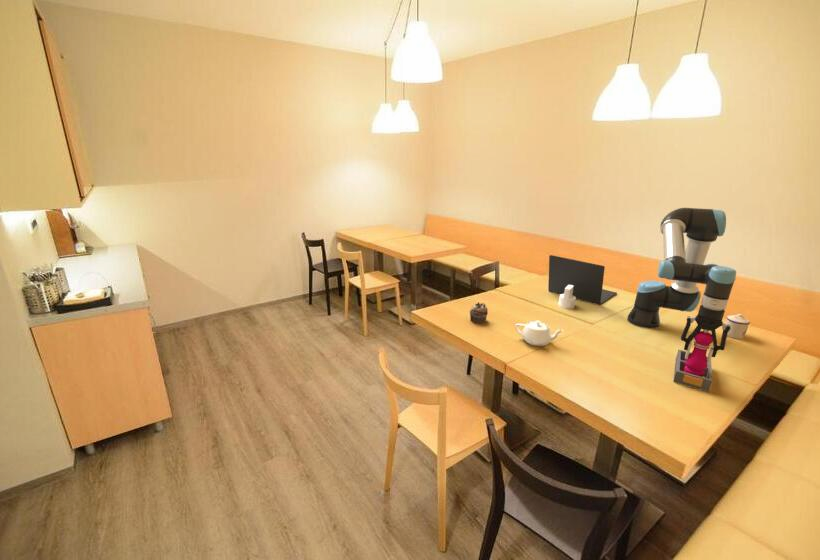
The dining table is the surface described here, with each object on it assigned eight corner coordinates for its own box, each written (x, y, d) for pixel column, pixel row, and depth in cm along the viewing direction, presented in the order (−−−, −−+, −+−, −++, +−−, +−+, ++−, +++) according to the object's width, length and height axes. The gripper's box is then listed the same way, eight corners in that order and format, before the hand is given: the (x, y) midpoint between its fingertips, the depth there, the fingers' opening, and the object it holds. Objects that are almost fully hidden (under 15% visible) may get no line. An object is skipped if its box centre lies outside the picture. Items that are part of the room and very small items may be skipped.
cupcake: (485, 316, 209) (487, 300, 206) (487, 324, 200) (489, 307, 197) (468, 315, 210) (469, 299, 207) (469, 323, 201) (470, 306, 197)
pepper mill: (678, 368, 155) (690, 324, 149) (694, 368, 156) (707, 324, 149) (691, 378, 148) (705, 332, 142) (708, 378, 149) (723, 332, 142)
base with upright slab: (560, 301, 233) (563, 283, 229) (575, 305, 228) (579, 286, 224) (556, 306, 226) (559, 287, 222) (572, 309, 221) (575, 290, 217)
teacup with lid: (746, 341, 187) (754, 319, 183) (723, 336, 191) (730, 315, 187) (741, 331, 197) (748, 311, 193) (719, 327, 201) (725, 307, 197)
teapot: (511, 342, 181) (513, 322, 177) (516, 331, 193) (518, 312, 189) (559, 353, 172) (563, 332, 169) (562, 340, 184) (565, 320, 180)
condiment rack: (673, 382, 151) (676, 371, 150) (675, 359, 169) (678, 349, 167) (708, 392, 145) (712, 381, 143) (707, 367, 162) (710, 357, 161)
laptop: (616, 294, 248) (624, 255, 239) (596, 308, 224) (604, 266, 216) (567, 282, 270) (572, 246, 262) (543, 293, 247) (549, 254, 238)
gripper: (681, 303, 145) (667, 356, 152) (746, 316, 134) (728, 372, 142) (682, 298, 151) (668, 349, 158) (744, 310, 140) (726, 364, 148)
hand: (696, 360), depth 150 cm, fingers closed on pepper mill, 6 cm apart
